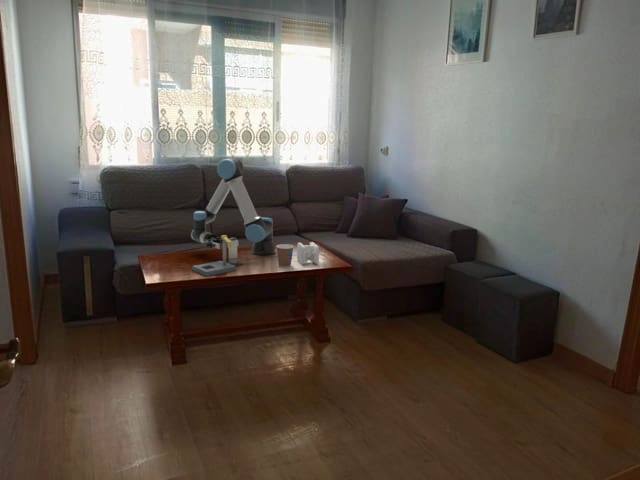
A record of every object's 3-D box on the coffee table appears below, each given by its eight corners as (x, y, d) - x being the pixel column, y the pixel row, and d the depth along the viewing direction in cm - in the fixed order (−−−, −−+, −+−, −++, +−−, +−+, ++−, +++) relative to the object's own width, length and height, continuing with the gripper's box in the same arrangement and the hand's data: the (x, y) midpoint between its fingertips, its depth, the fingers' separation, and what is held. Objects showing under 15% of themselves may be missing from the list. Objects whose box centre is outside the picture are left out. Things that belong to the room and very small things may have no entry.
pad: (235, 261, 308) (235, 260, 308) (243, 264, 303) (243, 263, 303) (224, 263, 303) (224, 262, 303) (231, 266, 297) (231, 265, 297)
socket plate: (220, 264, 301) (220, 236, 297) (235, 270, 290) (235, 241, 287) (192, 270, 288) (191, 240, 284) (206, 276, 277) (206, 245, 274)
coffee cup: (290, 268, 298) (291, 248, 295) (273, 267, 299) (274, 247, 297) (295, 264, 307) (295, 244, 305) (278, 262, 309) (279, 243, 307)
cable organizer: (296, 259, 318) (296, 241, 315) (312, 259, 321) (313, 241, 318) (302, 266, 304) (303, 247, 301) (319, 265, 307) (320, 246, 304)
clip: (220, 241, 291) (220, 235, 291) (226, 241, 293) (226, 235, 292) (226, 248, 277) (226, 241, 276) (232, 247, 278) (232, 240, 278)
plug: (234, 261, 307) (234, 236, 303) (240, 263, 303) (239, 238, 299) (226, 262, 303) (225, 238, 300) (232, 264, 299) (231, 239, 295)
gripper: (225, 241, 327) (245, 248, 313) (191, 247, 310) (211, 254, 296) (225, 230, 326) (245, 236, 311) (190, 235, 308) (210, 241, 294)
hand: (228, 244), depth 303 cm, fingers open, 13 cm apart
